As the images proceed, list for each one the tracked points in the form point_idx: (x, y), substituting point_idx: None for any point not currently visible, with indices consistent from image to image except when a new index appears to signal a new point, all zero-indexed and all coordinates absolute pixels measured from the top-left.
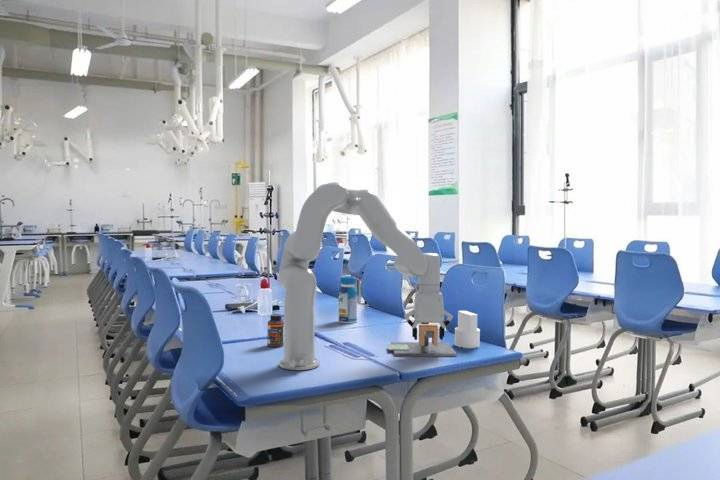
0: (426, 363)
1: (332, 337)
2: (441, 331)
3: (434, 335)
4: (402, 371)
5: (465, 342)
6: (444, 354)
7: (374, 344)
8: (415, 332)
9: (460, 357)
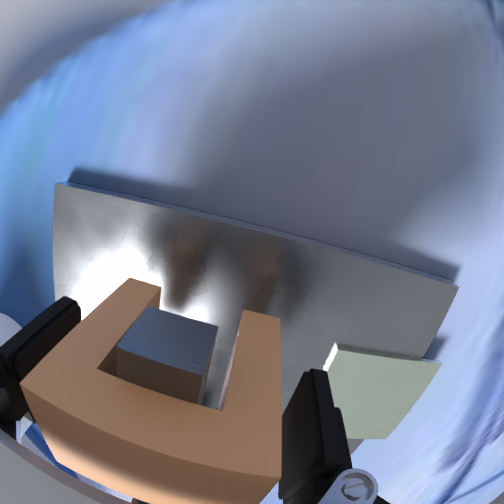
0: (326, 49)
1: (434, 493)
2: (26, 337)
3: (112, 336)
4: (479, 3)
5: (5, 339)
6: (122, 196)
7: (391, 461)
8: (334, 424)
9: (56, 156)
